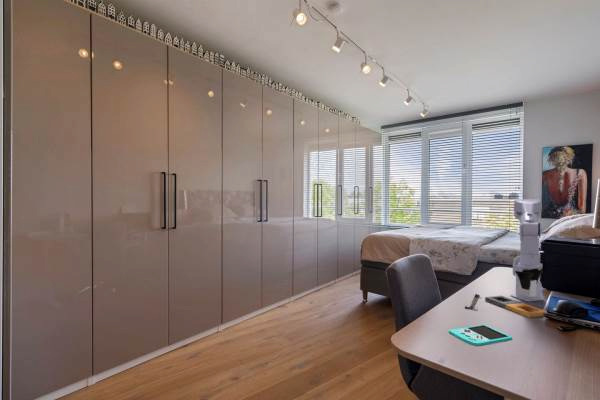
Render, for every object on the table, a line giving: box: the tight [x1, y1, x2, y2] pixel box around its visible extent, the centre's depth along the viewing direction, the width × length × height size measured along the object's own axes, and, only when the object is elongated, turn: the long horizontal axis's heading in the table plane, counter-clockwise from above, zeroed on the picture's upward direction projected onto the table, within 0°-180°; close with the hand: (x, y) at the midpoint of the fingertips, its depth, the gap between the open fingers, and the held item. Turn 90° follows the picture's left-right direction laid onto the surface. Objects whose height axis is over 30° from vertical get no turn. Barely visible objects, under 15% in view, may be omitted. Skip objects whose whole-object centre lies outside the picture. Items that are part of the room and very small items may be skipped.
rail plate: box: [484, 295, 546, 319], centre depth 122 cm, size 9×19×2 cm, turn 16°
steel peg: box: [519, 279, 537, 297], centre depth 117 cm, size 4×4×6 cm
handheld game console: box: [448, 324, 513, 346], centre depth 97 cm, size 10×16×1 cm, turn 108°
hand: (528, 288), depth 117 cm, fingers closed on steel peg, 4 cm apart
